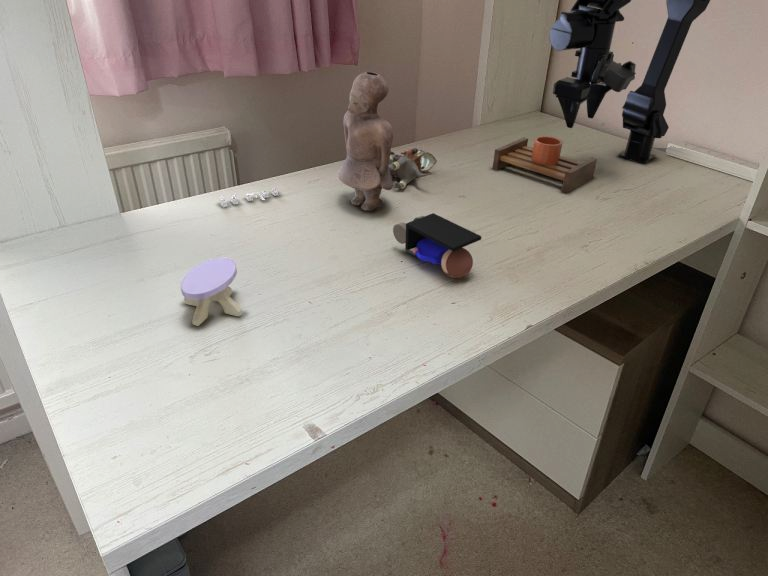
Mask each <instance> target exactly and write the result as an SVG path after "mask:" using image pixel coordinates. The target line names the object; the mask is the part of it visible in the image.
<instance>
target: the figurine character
mask: <svg viewBox="0 0 768 576" xmlns="http://www.w3.org/2000/svg"><path fill="white" fill-rule="evenodd" d="M392 233H393V236H394V238H395V240H396V241H397V242H398V244H401V245H404V244H405V245H404V250H405V252H406V253H408V254H410V255H411V256H414V257H417V258H418V259H419V260H420V261H425V262H430V263H432V265H440V266H441V270H442V271H443V272H444V274H445V275H447V276H448V277H450V278H453V279H461V278H463V277H466V276H467V275H468V274H469V273H470V272H471V271H472V269H473V265H474V259H473V256H472V254H471V252H470V251H468V249H466V248H465V247H467V246H470V245H472V244H474V243H477V242H479V241H481V240H482V235H480V234H477V233H476V232H473V231H472V230H469V229H468V228H465V227H464V226H461V225H459V224H458V223H455V222H452V221H450V220H448V219H447V218H445V217H443V216H440V215H438V214H436V213H434V212H433V213H430V214H428V215H420V216H416V217H415V218H413V220H411V221H409V222H403V221H402V222H399V223H396V224H394V226H393V227H392Z"/></svg>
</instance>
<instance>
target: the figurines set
mask: <svg viewBox="0 0 768 576" xmlns="http://www.w3.org/2000/svg"><path fill="white" fill-rule="evenodd" d="M224 194H225V193H224V192H223V193H222V196H219V197H220V198H221V199H219V202H220V203H219V204H220V206H221V207H222V208H228V201H227V200H226V199H225V196H224ZM271 194H272V195H273V196H274V197H276V196H279V190H278V189H277V188H272V189H271ZM237 195H238V194H237V191H235V193H232V194H231V197H230V202H231V204H233V205H238V204H239V199H238V198H237V197H238V196H237ZM253 195H254V197H253ZM258 195H259V197H260V200H262V201H266V199H267V198H269V197H270V195H269V192H268V191H267V190H261V193H260V192H252V193H247V194H246V195H245V198H246V200H247V201H248V202H253V201H254V198H256V199H257V198H258Z"/></svg>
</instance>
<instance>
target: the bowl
mask: <svg viewBox="0 0 768 576" xmlns="http://www.w3.org/2000/svg"><path fill="white" fill-rule="evenodd" d="M563 143H564V142H563V140H562V139H560V138H557V137H554V136H548V135H546V136H545V135H541V136H537V137H535V138H534V143H533V147H532V148H533V153H532V161H533V162H535V163H537V164H541V165H556V164H558V162H559V158H560V156H561V153H562V147H563Z"/></svg>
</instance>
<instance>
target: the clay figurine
mask: <svg viewBox="0 0 768 576" xmlns="http://www.w3.org/2000/svg"><path fill="white" fill-rule="evenodd" d="M388 93H389V84H388V82H387V80H386V79H385V78H384V77H383V76H382V75H381V74H379V73H377V72H374V71H365V72H362V73H360V74H358V75H357V76H356V77H355V78H354V80H353V82H352V87H351V90H350V92H349V99H348V100H349V103H348V107H347V111H346V112H345V113H344V116H343V121H342V122H343V130H344V131H343V133H344V140H345V148H346V158H345V159H344V162H343V163H342V165H341V166H340V168H339V170H338V172H337V175H338V179H339V181H340V182H341V183H342V184H344V186H345V185H346V186H348V187H349V188H352V189H354V193H355V194H354V196H353V198H352V199H351V201H350V202H351V204H352V205H353V206H360V208H361V210H363V211H368V212H371V211H374V210H375V209H377V208H378V207H381V206H382V205H383V204H384V200H383V199H382V198H380V197H381V193H382V189H383V190H385V191H391V190H393V189H394V186H393V185H394V181H393V178H391V175H390V171H389V168H388V165H389V160H390V152H391V151H392V145H393V140H394V130H393V127H392V125H391V123H390V122H388V121H387V120H386V119H384V118H383V117H381V116H380V115H379V114H378V105H379V104H380V103H381V102H382V101H383V100H385V98H386V97H387V96H388Z"/></svg>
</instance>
